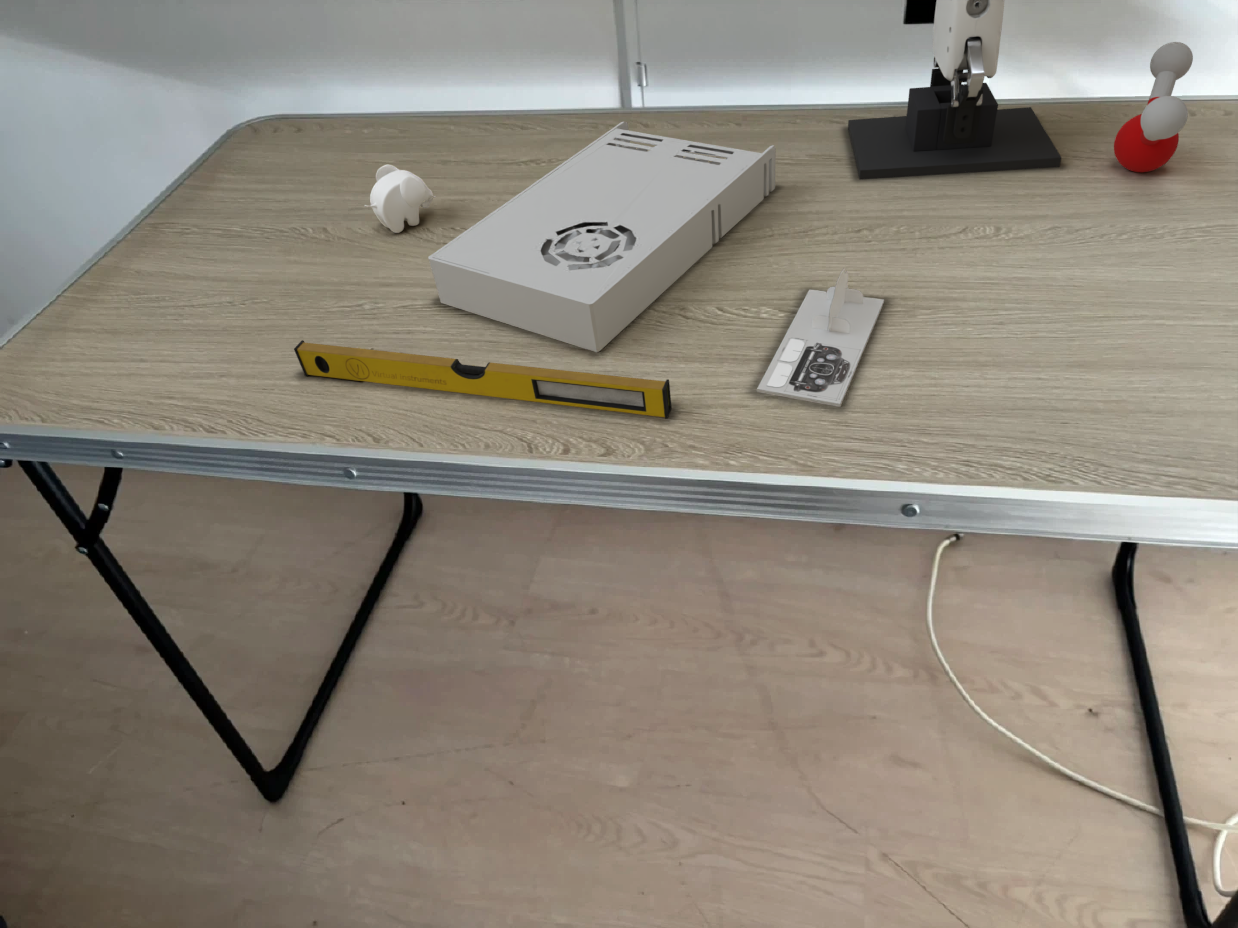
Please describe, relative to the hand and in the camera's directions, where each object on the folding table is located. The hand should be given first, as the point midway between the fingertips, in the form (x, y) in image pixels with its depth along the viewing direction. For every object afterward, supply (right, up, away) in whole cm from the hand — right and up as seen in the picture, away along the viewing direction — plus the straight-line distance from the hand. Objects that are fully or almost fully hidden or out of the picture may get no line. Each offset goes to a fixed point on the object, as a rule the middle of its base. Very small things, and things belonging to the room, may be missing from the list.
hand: (950, 123), depth 99 cm
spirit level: (-47, -31, -22) cm, 60 cm away
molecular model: (+17, -7, -6) cm, 19 cm away
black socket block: (0, -1, +1) cm, 2 cm away
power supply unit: (-36, -14, -6) cm, 39 cm away
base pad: (0, -2, +2) cm, 3 cm away
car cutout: (-19, -27, -22) cm, 40 cm away
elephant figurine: (-59, -10, +3) cm, 60 cm away
